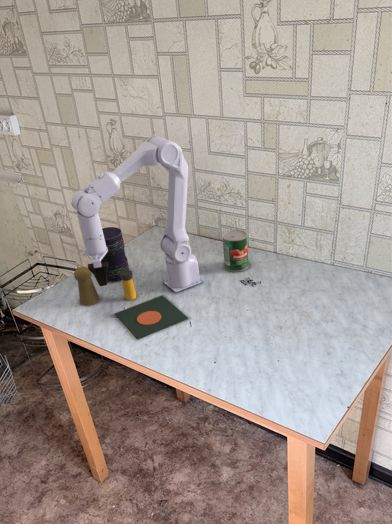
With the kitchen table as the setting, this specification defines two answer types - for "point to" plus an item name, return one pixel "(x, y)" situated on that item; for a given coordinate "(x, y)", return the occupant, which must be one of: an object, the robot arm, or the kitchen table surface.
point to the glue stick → (128, 284)
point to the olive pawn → (86, 286)
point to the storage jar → (115, 253)
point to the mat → (150, 316)
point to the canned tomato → (235, 250)
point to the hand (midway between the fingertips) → (103, 278)
